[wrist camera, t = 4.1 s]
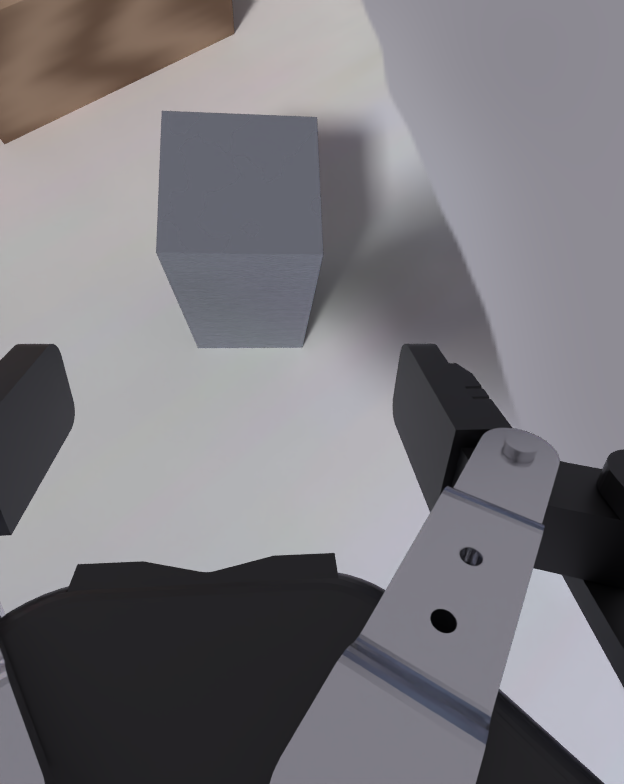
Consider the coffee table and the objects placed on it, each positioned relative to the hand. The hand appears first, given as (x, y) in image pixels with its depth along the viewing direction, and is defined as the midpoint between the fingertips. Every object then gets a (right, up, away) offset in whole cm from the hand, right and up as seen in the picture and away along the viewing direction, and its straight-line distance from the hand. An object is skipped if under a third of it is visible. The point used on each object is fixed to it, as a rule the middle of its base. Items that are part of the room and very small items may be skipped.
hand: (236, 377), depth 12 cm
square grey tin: (-1, +4, +12) cm, 13 cm away
